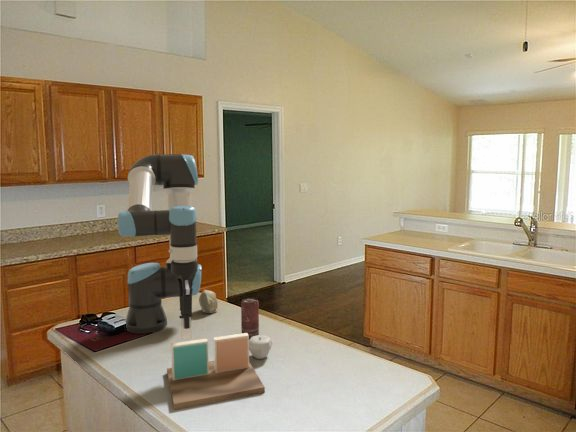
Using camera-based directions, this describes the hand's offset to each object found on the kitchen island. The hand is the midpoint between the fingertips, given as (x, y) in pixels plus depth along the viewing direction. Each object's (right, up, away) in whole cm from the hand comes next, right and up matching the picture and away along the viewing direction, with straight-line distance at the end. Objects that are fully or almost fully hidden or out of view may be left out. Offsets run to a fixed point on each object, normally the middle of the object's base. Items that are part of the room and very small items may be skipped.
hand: (186, 337), depth 131 cm
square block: (+2, -10, -5) cm, 11 cm away
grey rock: (-3, -3, +51) cm, 52 cm away
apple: (+21, -9, +10) cm, 25 cm away
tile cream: (+14, -9, -1) cm, 16 cm away
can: (+17, -7, +25) cm, 31 cm away
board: (+9, -11, -6) cm, 15 cm away
